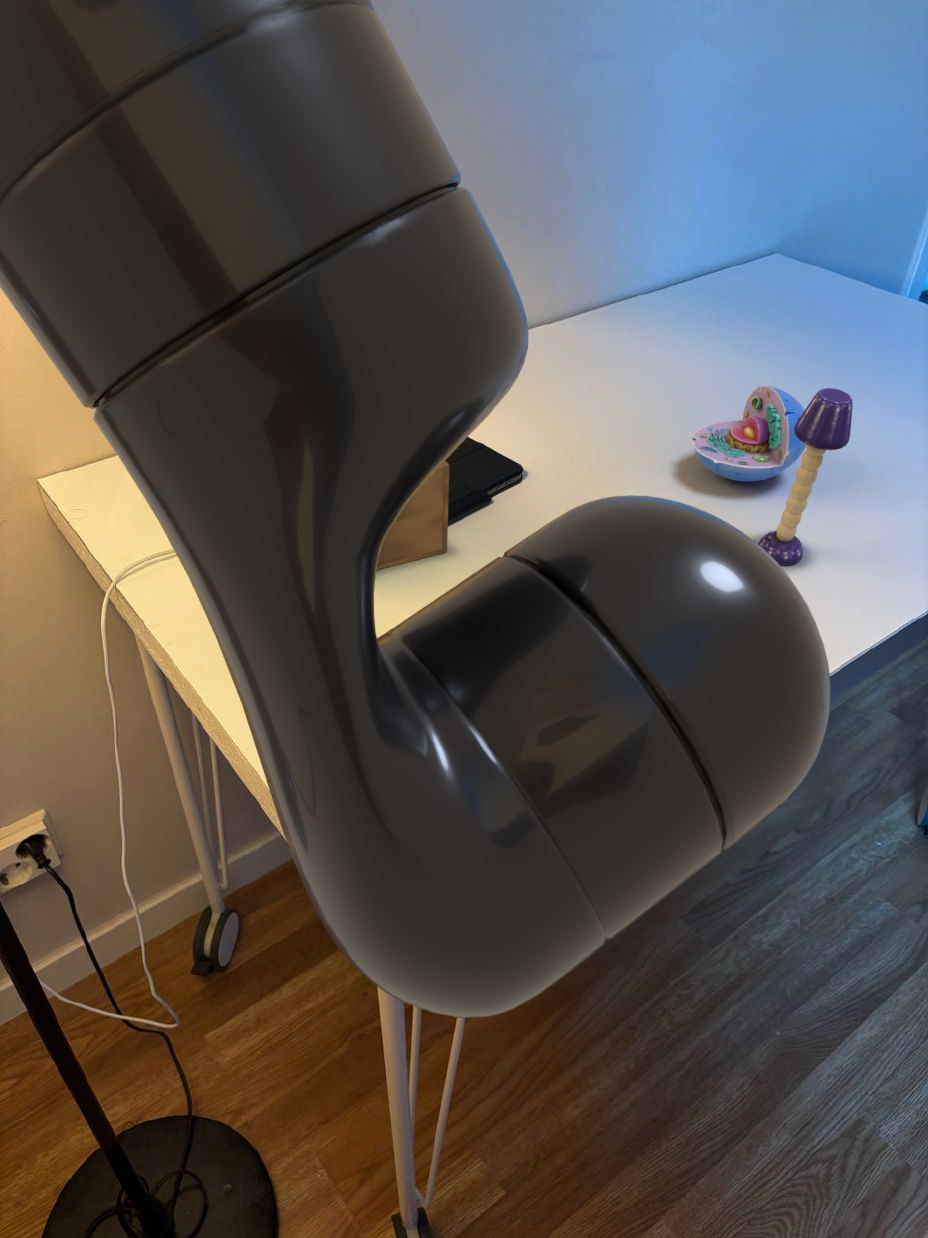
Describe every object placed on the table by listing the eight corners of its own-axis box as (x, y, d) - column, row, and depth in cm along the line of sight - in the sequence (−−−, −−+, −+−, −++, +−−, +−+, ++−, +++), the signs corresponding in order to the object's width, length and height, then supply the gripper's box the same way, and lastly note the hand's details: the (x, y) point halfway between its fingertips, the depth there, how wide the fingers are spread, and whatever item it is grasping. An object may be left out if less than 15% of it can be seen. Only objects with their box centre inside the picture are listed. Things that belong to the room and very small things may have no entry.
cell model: (670, 455, 104) (686, 374, 98) (771, 446, 106) (793, 366, 100) (707, 506, 97) (727, 421, 90) (814, 495, 99) (841, 412, 93)
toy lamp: (797, 538, 93) (848, 380, 82) (816, 567, 89) (872, 407, 78) (750, 540, 92) (795, 382, 81) (767, 569, 89) (816, 408, 78)
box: (314, 586, 85) (306, 496, 79) (272, 509, 94) (262, 423, 87) (447, 552, 89) (449, 465, 83) (395, 482, 98) (393, 398, 92)
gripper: (620, 599, 36) (528, 628, 52) (233, 635, 34) (262, 654, 50) (642, 800, 35) (543, 767, 51) (252, 849, 33) (275, 798, 49)
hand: (405, 711), depth 50 cm, fingers open, 8 cm apart
